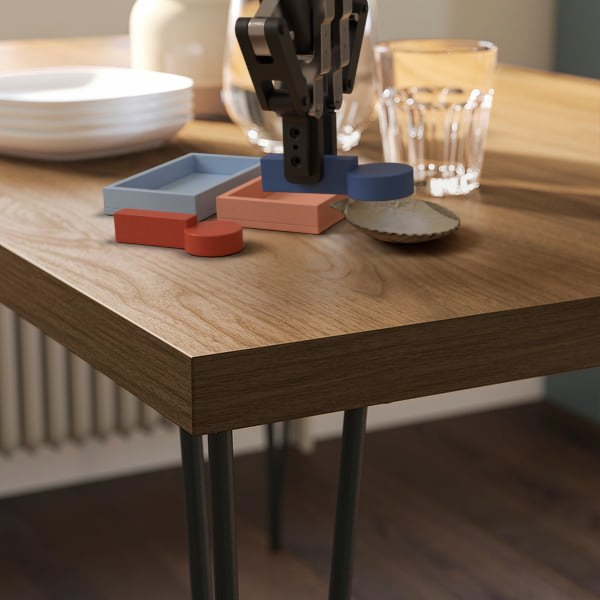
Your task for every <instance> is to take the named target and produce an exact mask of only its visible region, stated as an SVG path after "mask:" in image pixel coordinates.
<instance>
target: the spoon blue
mask: <svg viewBox="0 0 600 600" xmlns="http://www.w3.org/2000/svg"><path fill="white" fill-rule="evenodd" d="M358 164H359V156H358V155H343V154H341V155H340V154H337V155H324V178H323V180H322V181H320V182H319V183H317V184H315V185H305V184H292V183H289V182H288V181H287V180H286V179H285V177H284V157H283V153H272V152H271V153H268V154H266V155H264V156H262V158H260V166H261V180H262V191H264V192H286V193H310V194H335V195H347V196H348V197H349V198H351V199H355V200H360V201H391V200H397V199H402V198H405V197H411V196H412V195H414V193H415V175H414V172H415V171H414V167H413V166H412V165H410V164H407V163H401V162H387V161H386V162H369V163H361V164H362V165H358Z"/></svg>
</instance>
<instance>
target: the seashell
mask: <svg viewBox="0 0 600 600" xmlns="http://www.w3.org/2000/svg"><path fill="white" fill-rule="evenodd" d="M330 207H332V208H333V209H337V210H341V212H342V213H343V214H344V215H345V217H344V218H345V220H346V222H348V224H349V225H350V226H352V227H353V228H354V229H356V230H357V231H359V232H360V233H362V234H364V235H366V236H368V237H371V238H373V239H375V240H379V241H383V242H389V243H395V244H403V245H405V244H415V243H423V242H429V241H432V240H437V239H440V238H444V237H446V236H448V235H451V234H453V233H455V232H456V231H459V228H460V227H461V219H460V217H459V216H458V215H457V214H456V213H455V212H453V210H450V209H449V208H447V207H445V206H443V205H441V204H439V203H437V202H433V201H428V200H424V199H421V198H417V197H411V196H408V197H405V198H402V199H397V200H391V201H360V200H355V199H351V198H349V199H348V198H345V199H341V200H338V201H336V202H333V203H330Z"/></svg>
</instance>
